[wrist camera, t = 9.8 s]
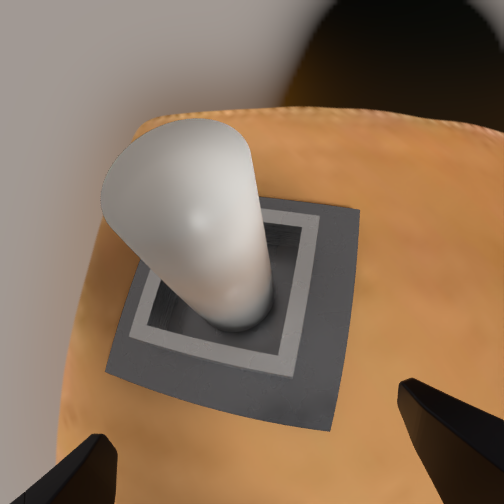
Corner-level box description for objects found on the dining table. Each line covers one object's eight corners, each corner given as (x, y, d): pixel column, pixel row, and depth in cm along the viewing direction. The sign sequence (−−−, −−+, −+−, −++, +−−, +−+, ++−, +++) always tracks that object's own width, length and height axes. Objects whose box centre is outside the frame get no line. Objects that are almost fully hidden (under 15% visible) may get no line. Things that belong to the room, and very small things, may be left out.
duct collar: (328, 429, 17) (336, 438, 14) (111, 373, 21) (81, 366, 17) (357, 216, 24) (366, 185, 20) (172, 195, 27) (156, 166, 23)
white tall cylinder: (252, 345, 19) (195, 271, 8) (181, 310, 21) (75, 212, 10) (287, 273, 21) (279, 134, 10) (218, 245, 23) (158, 111, 12)
